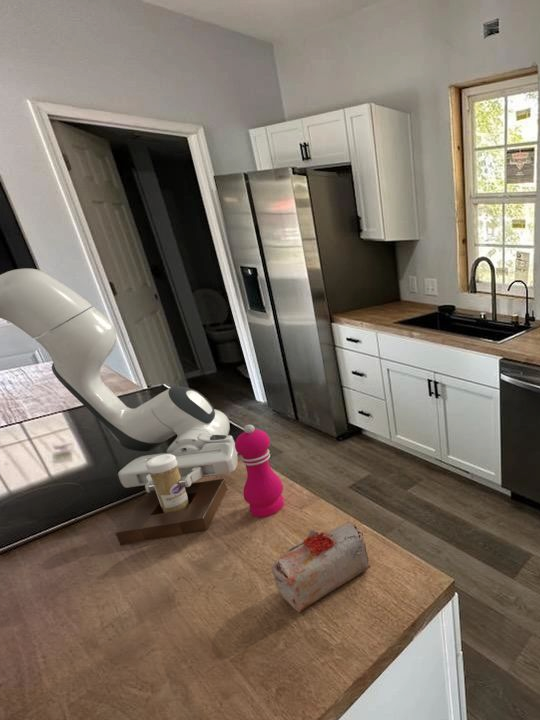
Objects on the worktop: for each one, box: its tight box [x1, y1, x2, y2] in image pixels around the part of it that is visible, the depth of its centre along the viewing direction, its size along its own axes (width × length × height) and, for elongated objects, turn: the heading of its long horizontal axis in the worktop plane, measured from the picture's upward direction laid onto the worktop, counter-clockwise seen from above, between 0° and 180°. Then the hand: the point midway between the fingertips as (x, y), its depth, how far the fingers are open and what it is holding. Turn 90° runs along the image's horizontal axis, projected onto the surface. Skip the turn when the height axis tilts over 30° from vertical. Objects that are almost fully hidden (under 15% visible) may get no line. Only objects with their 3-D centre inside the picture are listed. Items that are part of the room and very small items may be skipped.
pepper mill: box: [234, 424, 285, 518], centre depth 85 cm, size 7×7×20 cm
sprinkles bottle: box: [146, 454, 190, 513], centre depth 83 cm, size 5×5×14 cm
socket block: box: [115, 478, 228, 546], centre depth 85 cm, size 14×14×3 cm
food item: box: [270, 521, 371, 613], centre depth 69 cm, size 14×8×10 cm, turn 138°
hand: (167, 486), depth 82 cm, fingers closed on sprinkles bottle, 4 cm apart
